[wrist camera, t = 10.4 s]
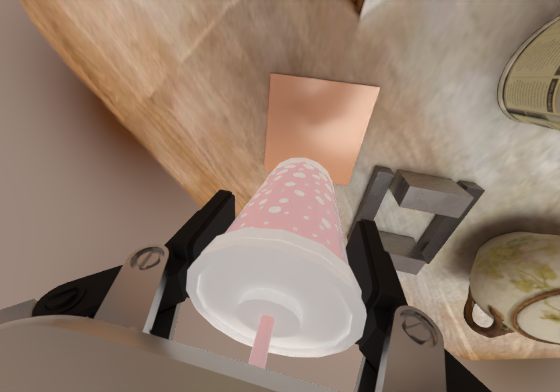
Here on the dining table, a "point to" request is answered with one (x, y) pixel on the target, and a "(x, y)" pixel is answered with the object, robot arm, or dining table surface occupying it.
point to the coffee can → (534, 80)
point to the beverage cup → (282, 270)
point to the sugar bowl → (517, 286)
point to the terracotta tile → (317, 122)
